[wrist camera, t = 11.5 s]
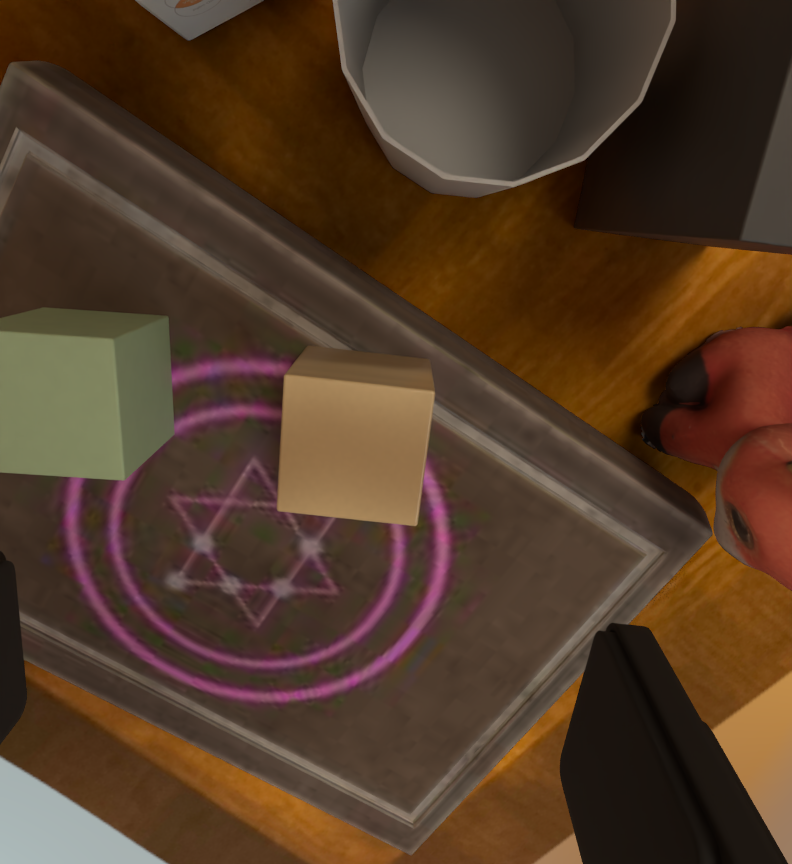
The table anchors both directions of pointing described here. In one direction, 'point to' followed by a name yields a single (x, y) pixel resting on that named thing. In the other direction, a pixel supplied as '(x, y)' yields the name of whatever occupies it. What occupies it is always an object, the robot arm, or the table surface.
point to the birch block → (355, 435)
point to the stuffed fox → (737, 438)
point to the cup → (497, 82)
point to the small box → (195, 13)
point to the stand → (705, 136)
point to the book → (292, 532)
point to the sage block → (83, 392)
